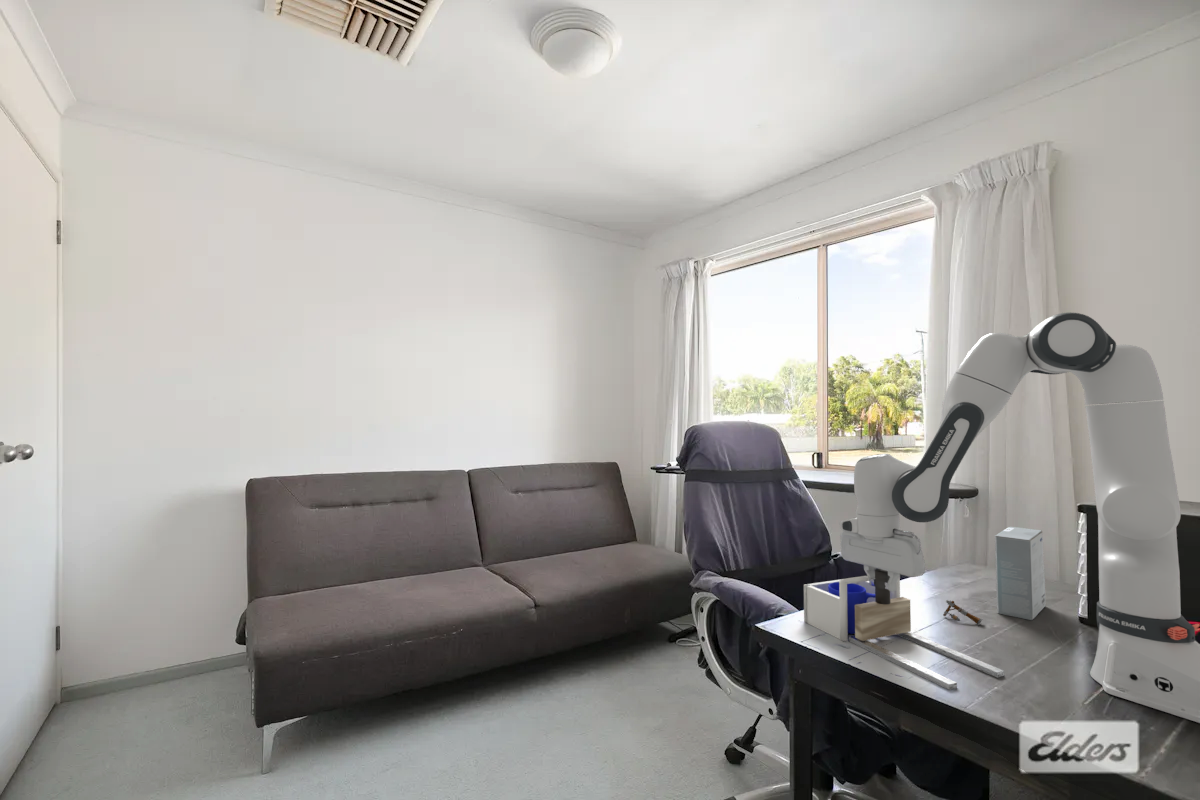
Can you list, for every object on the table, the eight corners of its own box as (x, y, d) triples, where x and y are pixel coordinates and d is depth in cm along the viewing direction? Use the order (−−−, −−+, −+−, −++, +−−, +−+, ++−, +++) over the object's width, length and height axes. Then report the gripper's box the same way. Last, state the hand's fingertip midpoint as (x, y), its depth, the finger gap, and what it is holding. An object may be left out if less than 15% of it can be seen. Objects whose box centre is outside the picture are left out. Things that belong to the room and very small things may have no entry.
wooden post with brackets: (940, 611, 143) (948, 597, 142) (974, 632, 138) (983, 617, 136) (938, 613, 142) (946, 598, 140) (972, 634, 136) (981, 619, 135)
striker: (912, 632, 128) (911, 569, 129) (864, 641, 123) (863, 576, 124) (901, 627, 131) (900, 565, 132) (853, 636, 126) (852, 572, 126)
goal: (902, 630, 133) (901, 572, 133) (843, 641, 127) (843, 580, 127) (858, 612, 145) (857, 558, 145) (803, 621, 139) (802, 565, 139)
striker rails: (1004, 675, 110) (1004, 670, 110) (949, 689, 104) (949, 684, 105) (898, 631, 132) (898, 627, 132) (849, 641, 127) (849, 636, 127)
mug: (883, 643, 126) (882, 597, 126) (825, 632, 132) (824, 589, 132) (887, 631, 133) (886, 588, 133) (832, 621, 139) (831, 580, 139)
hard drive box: (1010, 599, 154) (1009, 526, 155) (1046, 606, 149) (1044, 530, 149) (995, 613, 144) (994, 534, 144) (1033, 621, 138) (1031, 539, 139)
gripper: (929, 531, 120) (934, 597, 119) (853, 518, 139) (857, 576, 138) (908, 534, 117) (913, 602, 117) (833, 521, 136) (837, 579, 136)
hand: (882, 588), depth 128 cm, fingers closed on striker, 3 cm apart
